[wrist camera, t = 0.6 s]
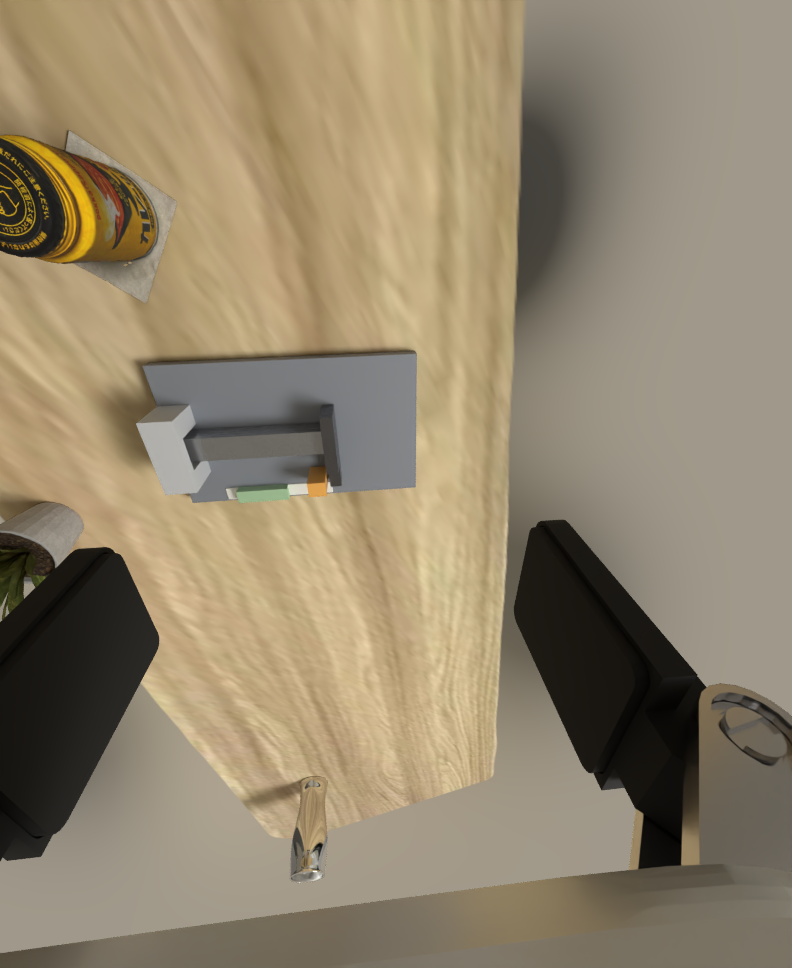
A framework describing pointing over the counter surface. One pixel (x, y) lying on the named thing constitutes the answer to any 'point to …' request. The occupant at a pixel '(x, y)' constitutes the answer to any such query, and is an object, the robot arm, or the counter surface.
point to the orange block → (317, 481)
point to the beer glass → (310, 833)
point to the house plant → (34, 547)
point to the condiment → (82, 211)
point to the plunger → (270, 442)
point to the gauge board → (284, 421)
